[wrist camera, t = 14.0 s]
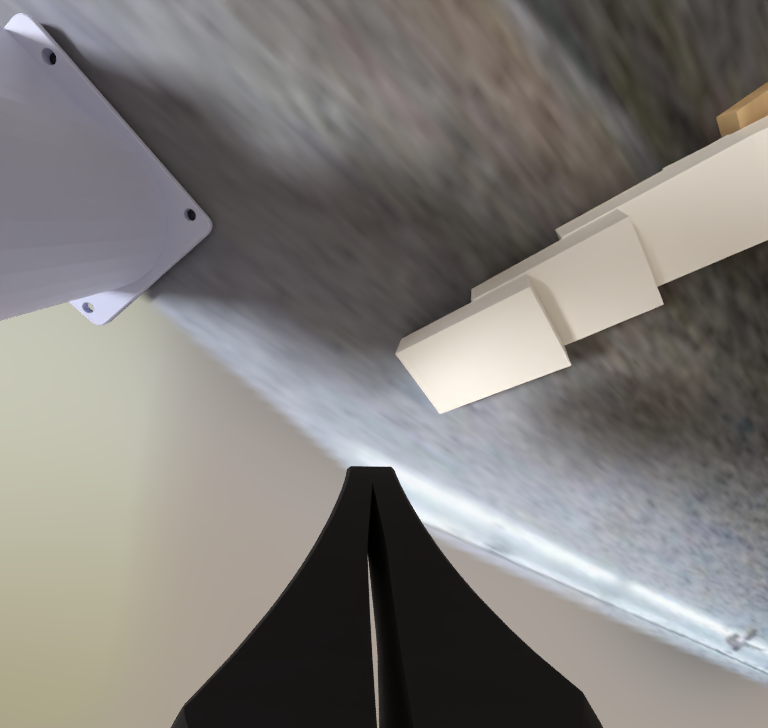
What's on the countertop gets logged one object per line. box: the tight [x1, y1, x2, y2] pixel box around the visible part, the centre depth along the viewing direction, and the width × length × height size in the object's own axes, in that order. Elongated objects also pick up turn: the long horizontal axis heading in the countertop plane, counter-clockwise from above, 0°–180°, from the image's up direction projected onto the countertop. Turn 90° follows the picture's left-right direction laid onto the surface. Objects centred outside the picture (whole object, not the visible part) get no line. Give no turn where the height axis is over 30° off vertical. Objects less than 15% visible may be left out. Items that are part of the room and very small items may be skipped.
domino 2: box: [471, 209, 664, 346], centre depth 17 cm, size 4×2×7 cm
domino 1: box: [395, 274, 571, 414], centre depth 18 cm, size 4×2×7 cm
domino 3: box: [555, 135, 768, 287], centre depth 16 cm, size 4×2×7 cm
